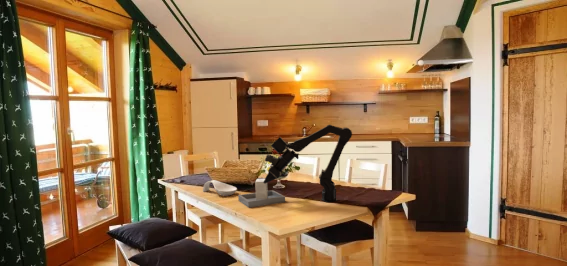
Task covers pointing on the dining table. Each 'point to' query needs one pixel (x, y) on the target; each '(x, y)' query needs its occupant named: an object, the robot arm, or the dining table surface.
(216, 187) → the spoon rest
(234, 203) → the dining table surface
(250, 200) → the tray
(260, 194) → the small box
